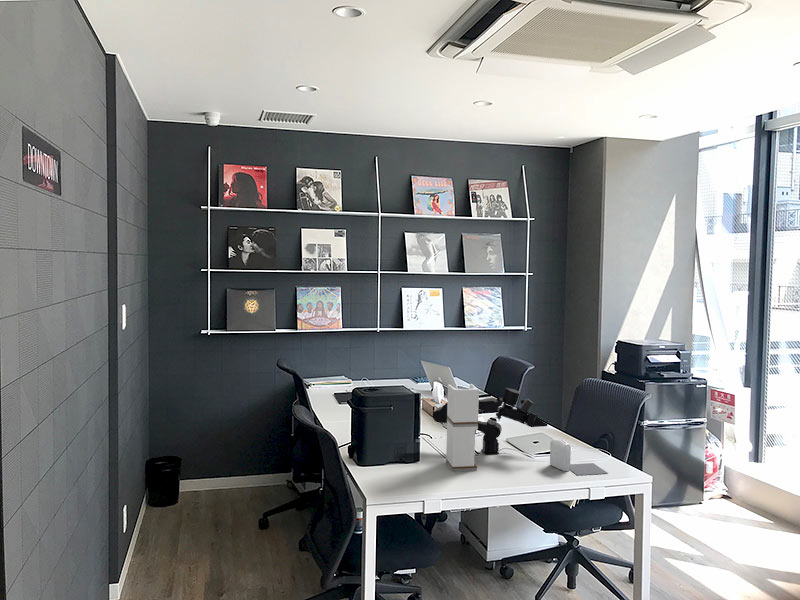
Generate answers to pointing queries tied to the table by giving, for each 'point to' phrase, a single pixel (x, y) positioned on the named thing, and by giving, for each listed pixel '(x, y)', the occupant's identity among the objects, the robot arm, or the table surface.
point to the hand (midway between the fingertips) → (544, 424)
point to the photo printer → (560, 454)
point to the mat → (586, 469)
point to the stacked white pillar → (462, 428)
